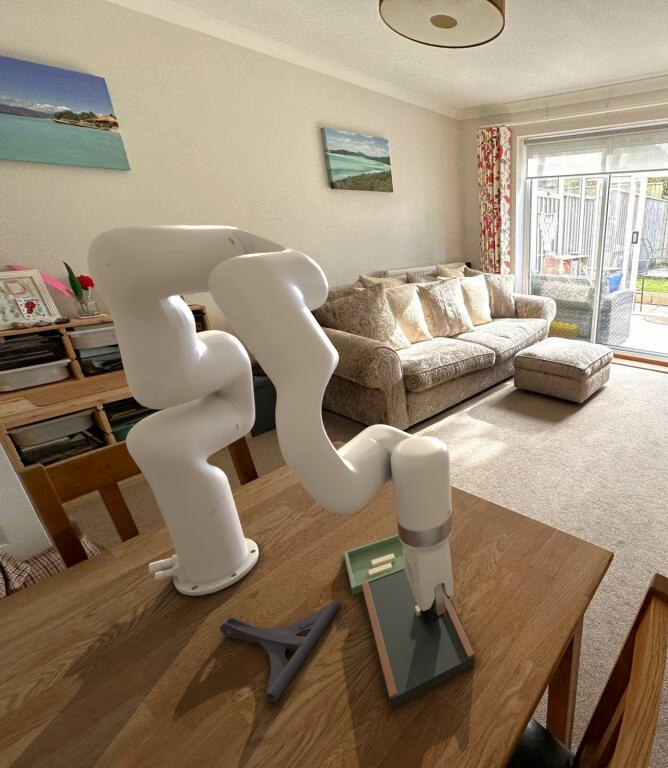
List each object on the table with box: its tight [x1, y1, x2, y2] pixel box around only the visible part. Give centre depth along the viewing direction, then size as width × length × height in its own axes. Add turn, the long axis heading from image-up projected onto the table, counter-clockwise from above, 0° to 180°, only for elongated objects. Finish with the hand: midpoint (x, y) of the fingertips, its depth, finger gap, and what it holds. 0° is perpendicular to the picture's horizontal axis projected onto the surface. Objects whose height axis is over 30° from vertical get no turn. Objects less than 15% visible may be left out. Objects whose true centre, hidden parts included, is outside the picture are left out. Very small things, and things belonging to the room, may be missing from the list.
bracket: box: [219, 600, 341, 703], centre depth 60 cm, size 14×15×3 cm
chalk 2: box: [368, 563, 392, 579], centre depth 73 cm, size 4×1×1 cm, turn 119°
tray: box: [343, 533, 405, 596], centre depth 76 cm, size 15×9×2 cm, turn 119°
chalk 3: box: [415, 605, 421, 616], centre depth 65 cm, size 4×1×1 cm, turn 121°
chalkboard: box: [362, 570, 475, 709], centre depth 63 cm, size 12×20×2 cm, turn 29°
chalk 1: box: [371, 554, 395, 568], centre depth 75 cm, size 4×1×1 cm, turn 118°
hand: (432, 616), depth 63 cm, fingers closed
